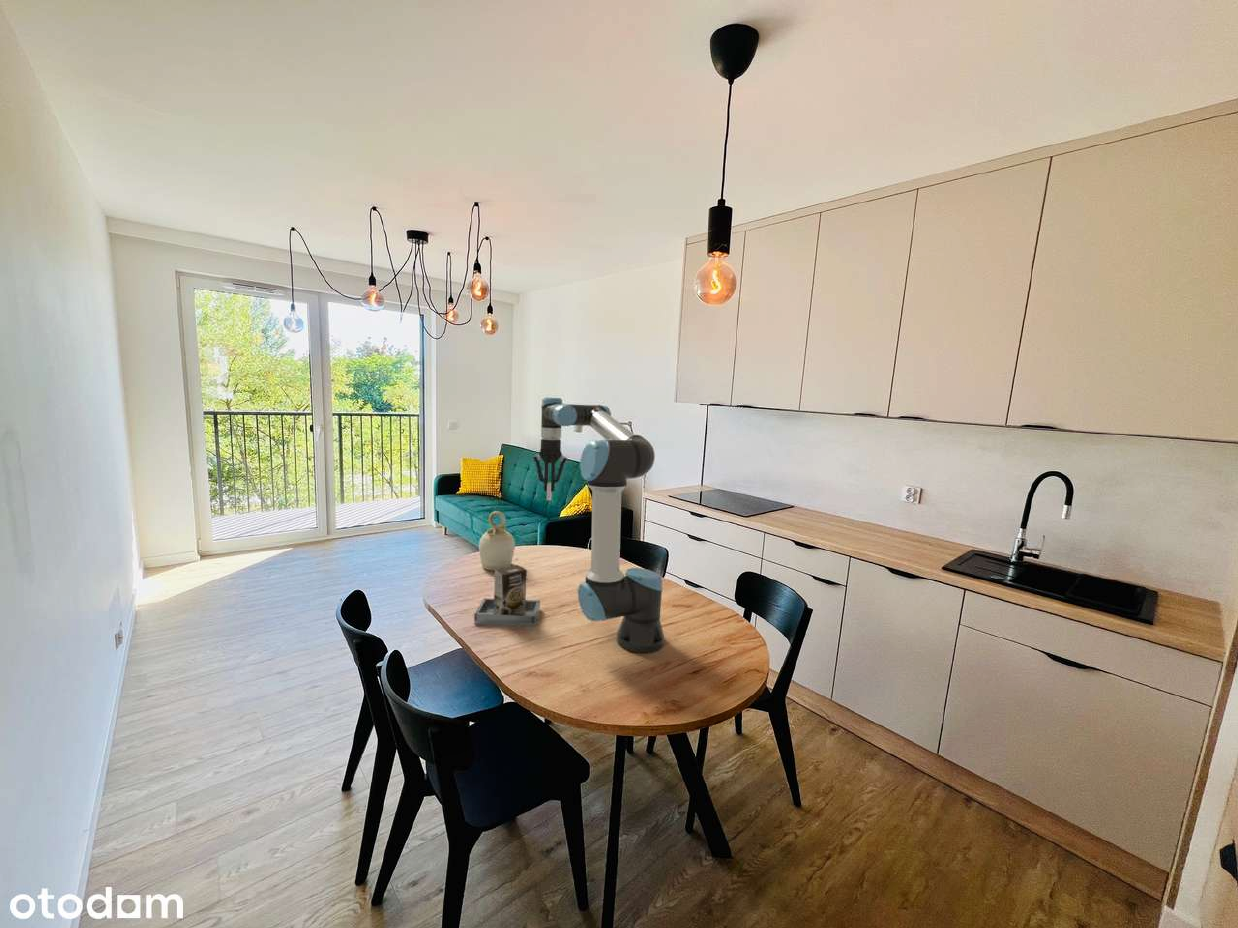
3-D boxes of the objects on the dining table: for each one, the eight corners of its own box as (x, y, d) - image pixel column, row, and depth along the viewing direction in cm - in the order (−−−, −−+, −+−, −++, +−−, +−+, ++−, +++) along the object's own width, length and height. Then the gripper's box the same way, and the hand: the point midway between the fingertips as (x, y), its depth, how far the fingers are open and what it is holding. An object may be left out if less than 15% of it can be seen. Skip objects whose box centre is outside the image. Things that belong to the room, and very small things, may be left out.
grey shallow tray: (539, 609, 178) (540, 600, 177) (534, 626, 166) (534, 616, 165) (483, 607, 177) (483, 598, 177) (474, 623, 165) (474, 613, 165)
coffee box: (502, 621, 166) (503, 574, 164) (493, 614, 170) (493, 569, 168) (526, 613, 172) (527, 569, 170) (516, 607, 177) (517, 563, 174)
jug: (495, 575, 209) (496, 517, 205) (471, 566, 217) (471, 510, 213) (521, 565, 221) (523, 510, 218) (497, 557, 230) (498, 505, 226)
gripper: (569, 438, 191) (566, 498, 195) (535, 436, 191) (533, 496, 194) (567, 440, 184) (565, 502, 187) (532, 438, 183) (530, 501, 187)
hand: (549, 499), depth 191 cm, fingers closed
